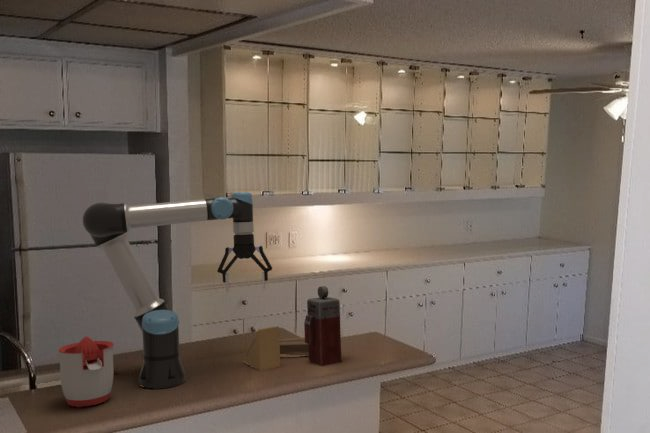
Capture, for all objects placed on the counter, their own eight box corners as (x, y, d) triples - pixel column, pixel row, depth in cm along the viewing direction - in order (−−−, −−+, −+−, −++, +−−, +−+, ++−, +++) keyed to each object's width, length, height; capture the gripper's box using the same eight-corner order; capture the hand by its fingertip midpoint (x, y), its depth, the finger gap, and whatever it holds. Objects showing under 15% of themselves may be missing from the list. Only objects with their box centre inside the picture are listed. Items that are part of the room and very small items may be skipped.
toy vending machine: (303, 362, 220) (300, 286, 220) (328, 357, 226) (326, 284, 226) (315, 367, 212) (313, 289, 212) (341, 362, 218) (339, 286, 218)
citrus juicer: (68, 415, 168) (66, 345, 168) (55, 401, 182) (52, 336, 182) (124, 403, 178) (121, 337, 177) (107, 390, 192) (105, 329, 191)
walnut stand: (327, 356, 227) (327, 343, 227) (278, 358, 227) (277, 345, 227) (327, 349, 239) (327, 337, 239) (280, 350, 239) (280, 338, 239)
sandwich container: (261, 359, 227) (260, 320, 227) (281, 367, 214) (279, 325, 214) (241, 362, 222) (239, 323, 222) (259, 371, 210) (258, 329, 210)
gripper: (277, 232, 225) (279, 287, 226) (211, 234, 224) (213, 290, 225) (276, 232, 218) (278, 290, 218) (208, 235, 217) (210, 293, 217)
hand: (245, 290), depth 221 cm, fingers open, 13 cm apart
